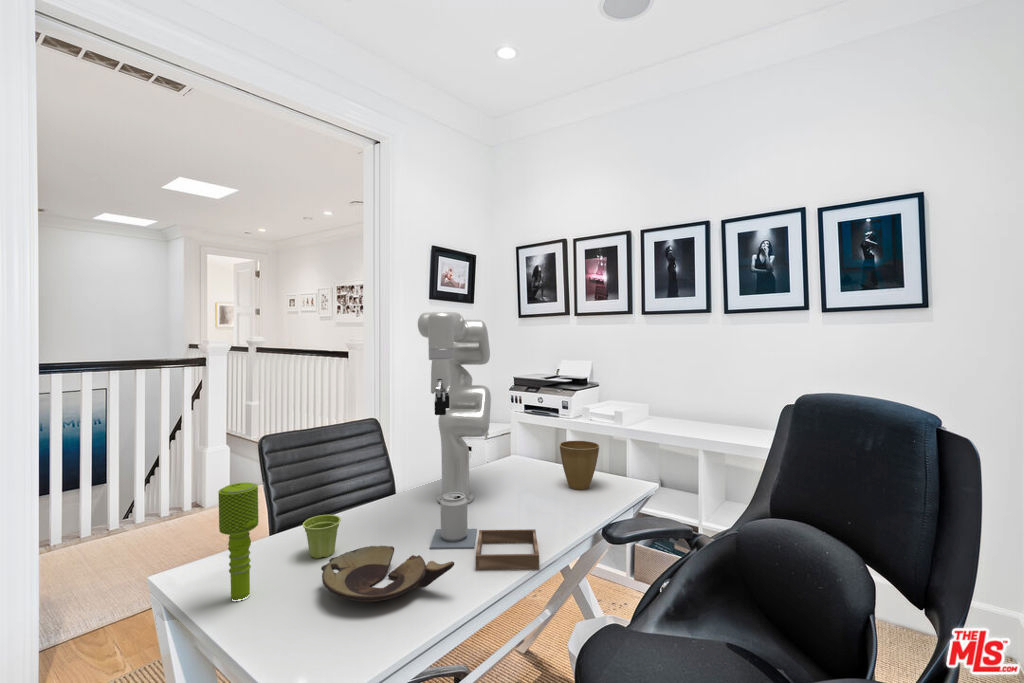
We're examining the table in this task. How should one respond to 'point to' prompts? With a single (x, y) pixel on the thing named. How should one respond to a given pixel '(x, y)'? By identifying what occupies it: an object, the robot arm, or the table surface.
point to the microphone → (239, 531)
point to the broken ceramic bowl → (377, 574)
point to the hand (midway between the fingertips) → (442, 411)
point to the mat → (465, 543)
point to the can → (454, 516)
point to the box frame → (507, 559)
